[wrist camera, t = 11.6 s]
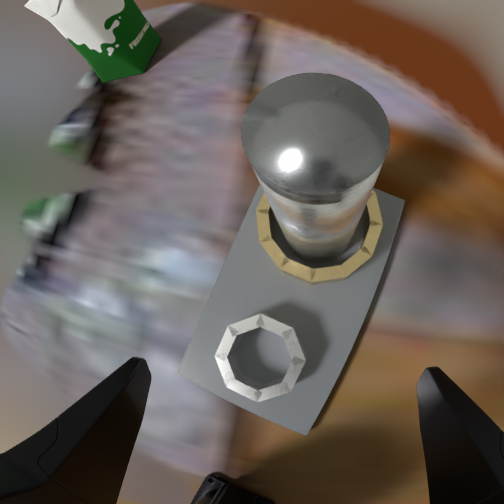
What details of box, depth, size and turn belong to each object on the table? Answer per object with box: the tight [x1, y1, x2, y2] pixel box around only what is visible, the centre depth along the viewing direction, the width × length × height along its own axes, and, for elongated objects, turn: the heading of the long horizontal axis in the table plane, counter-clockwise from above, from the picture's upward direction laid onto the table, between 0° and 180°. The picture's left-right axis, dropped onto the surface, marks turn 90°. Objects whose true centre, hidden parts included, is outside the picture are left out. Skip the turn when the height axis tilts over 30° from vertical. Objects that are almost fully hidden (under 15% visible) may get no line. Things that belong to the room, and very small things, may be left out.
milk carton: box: [25, 0, 161, 82], centre depth 22 cm, size 9×9×20 cm
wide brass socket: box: [256, 190, 383, 285], centre depth 20 cm, size 8×8×2 cm
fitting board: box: [177, 184, 405, 436], centre depth 22 cm, size 19×11×1 cm, turn 155°
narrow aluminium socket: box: [215, 313, 307, 402], centre depth 20 cm, size 6×6×2 cm
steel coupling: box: [241, 73, 390, 263], centre depth 15 cm, size 5×5×13 cm
